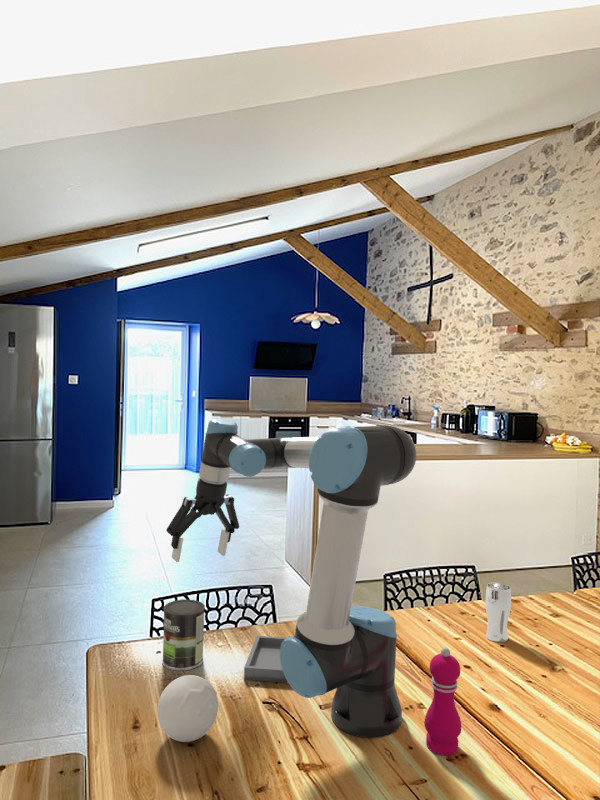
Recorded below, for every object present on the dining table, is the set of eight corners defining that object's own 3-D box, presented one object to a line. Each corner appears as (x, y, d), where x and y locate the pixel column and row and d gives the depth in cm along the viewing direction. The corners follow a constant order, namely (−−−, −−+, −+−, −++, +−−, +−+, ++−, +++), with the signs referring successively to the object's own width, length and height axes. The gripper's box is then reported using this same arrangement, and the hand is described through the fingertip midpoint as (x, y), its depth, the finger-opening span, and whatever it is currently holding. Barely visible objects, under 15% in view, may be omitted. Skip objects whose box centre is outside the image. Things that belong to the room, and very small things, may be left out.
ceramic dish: (318, 685, 142) (319, 672, 142) (243, 679, 144) (244, 667, 144) (322, 651, 160) (323, 640, 160) (256, 646, 162) (256, 635, 161)
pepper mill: (461, 760, 115) (465, 658, 115) (423, 754, 117) (427, 653, 116) (459, 738, 123) (463, 642, 122) (423, 733, 124) (427, 638, 123)
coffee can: (178, 675, 145) (179, 618, 144) (154, 660, 152) (155, 606, 151) (212, 661, 152) (213, 607, 152) (187, 648, 159) (188, 596, 159)
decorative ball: (180, 764, 112) (181, 701, 112) (145, 736, 120) (146, 678, 120) (229, 737, 121) (230, 679, 120) (193, 713, 129) (194, 658, 128)
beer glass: (512, 636, 172) (514, 585, 172) (506, 645, 166) (508, 592, 166) (487, 630, 176) (489, 580, 176) (481, 639, 170) (483, 587, 170)
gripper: (245, 472, 163) (231, 545, 166) (161, 475, 147) (148, 555, 150) (261, 482, 157) (246, 557, 160) (175, 486, 141) (161, 569, 145)
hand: (198, 556), depth 155 cm, fingers open, 13 cm apart
